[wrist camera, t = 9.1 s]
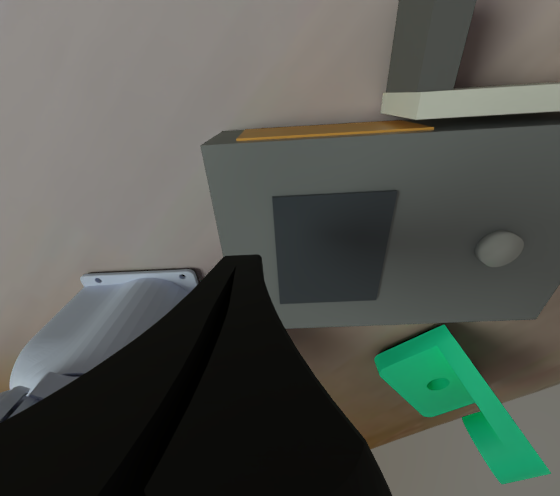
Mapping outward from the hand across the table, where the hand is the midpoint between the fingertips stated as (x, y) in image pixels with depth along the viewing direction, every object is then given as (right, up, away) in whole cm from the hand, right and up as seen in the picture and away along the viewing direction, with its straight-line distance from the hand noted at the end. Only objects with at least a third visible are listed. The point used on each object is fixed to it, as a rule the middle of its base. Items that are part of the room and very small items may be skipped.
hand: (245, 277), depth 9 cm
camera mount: (+17, -11, +18) cm, 28 cm away
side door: (+12, +11, +4) cm, 17 cm away
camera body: (+8, +4, +9) cm, 13 cm away
